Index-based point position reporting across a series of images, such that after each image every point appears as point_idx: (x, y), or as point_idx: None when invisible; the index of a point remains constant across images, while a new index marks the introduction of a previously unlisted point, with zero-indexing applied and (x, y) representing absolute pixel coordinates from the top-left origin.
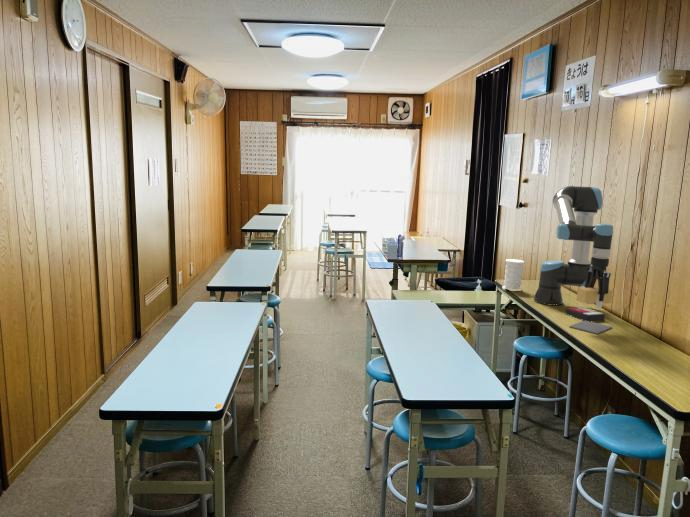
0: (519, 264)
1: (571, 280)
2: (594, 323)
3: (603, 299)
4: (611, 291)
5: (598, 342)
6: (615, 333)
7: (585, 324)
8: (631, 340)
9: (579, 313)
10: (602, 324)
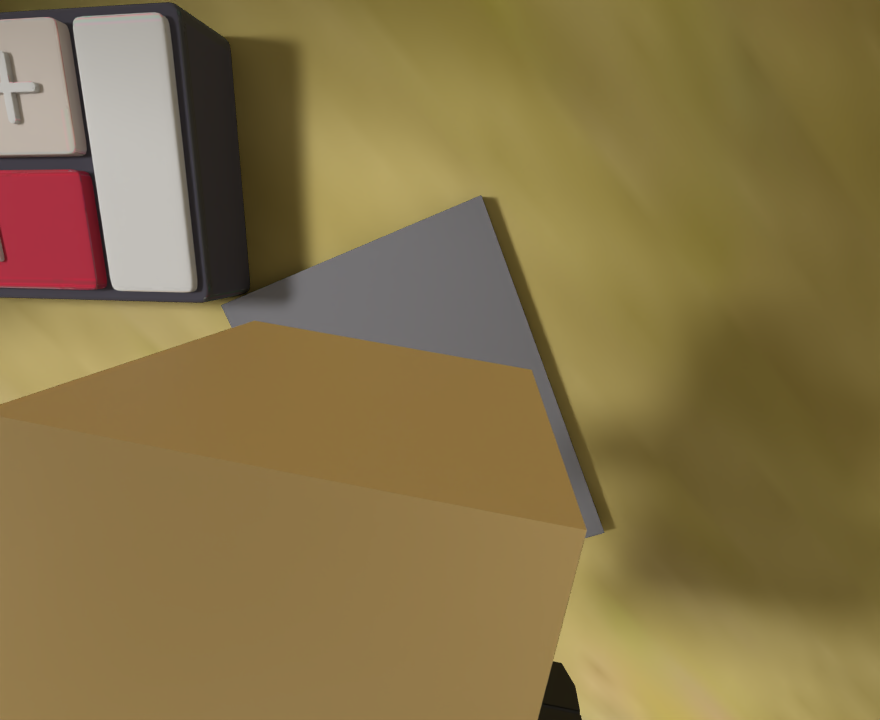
0: None
1: None
2: (336, 300)
3: (577, 705)
4: (566, 565)
5: (763, 678)
6: (632, 322)
7: None
8: (858, 351)
9: (93, 299)
10: (383, 239)
